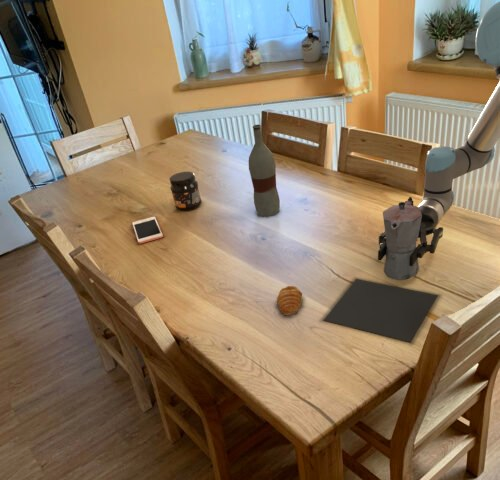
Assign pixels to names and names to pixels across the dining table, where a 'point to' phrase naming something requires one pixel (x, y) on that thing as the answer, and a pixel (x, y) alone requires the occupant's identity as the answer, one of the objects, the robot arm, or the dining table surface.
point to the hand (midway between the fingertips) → (395, 258)
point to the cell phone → (147, 230)
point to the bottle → (263, 177)
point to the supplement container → (185, 191)
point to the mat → (382, 309)
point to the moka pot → (401, 239)
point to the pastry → (289, 300)
